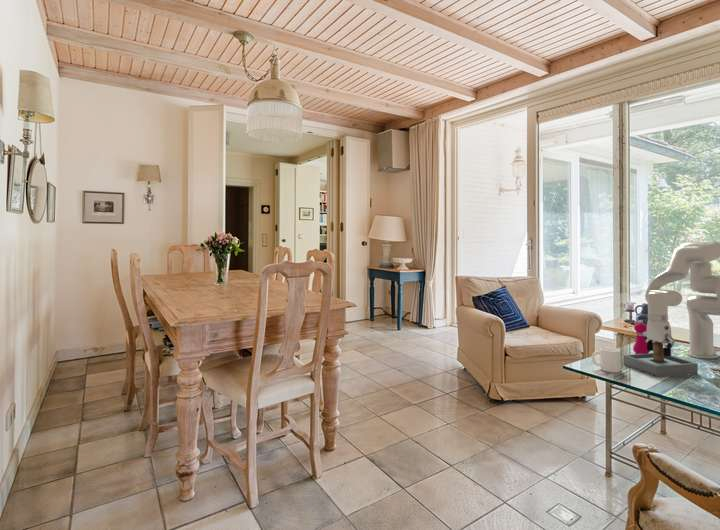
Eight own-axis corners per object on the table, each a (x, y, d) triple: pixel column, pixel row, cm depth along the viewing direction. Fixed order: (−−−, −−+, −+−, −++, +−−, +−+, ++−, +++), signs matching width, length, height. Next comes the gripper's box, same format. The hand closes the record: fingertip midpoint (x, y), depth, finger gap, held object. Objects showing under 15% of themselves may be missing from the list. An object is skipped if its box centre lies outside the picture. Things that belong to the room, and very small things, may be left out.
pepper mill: (652, 359, 205) (652, 321, 205) (637, 359, 207) (636, 321, 206) (645, 355, 212) (645, 318, 212) (630, 355, 214) (629, 319, 213)
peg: (659, 365, 192) (658, 341, 192) (666, 368, 188) (665, 342, 188) (651, 366, 192) (650, 341, 192) (658, 368, 188) (657, 343, 188)
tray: (661, 362, 201) (660, 352, 201) (697, 374, 181) (697, 363, 181) (623, 364, 199) (623, 355, 199) (656, 377, 180) (656, 366, 179)
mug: (591, 370, 194) (590, 349, 193) (592, 365, 200) (592, 345, 200) (620, 374, 187) (619, 352, 186) (621, 369, 193) (620, 348, 193)
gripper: (681, 320, 181) (681, 357, 182) (650, 314, 198) (651, 348, 199) (665, 321, 180) (666, 358, 181) (636, 315, 198) (637, 349, 198)
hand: (658, 353), depth 190 cm, fingers open, 9 cm apart
